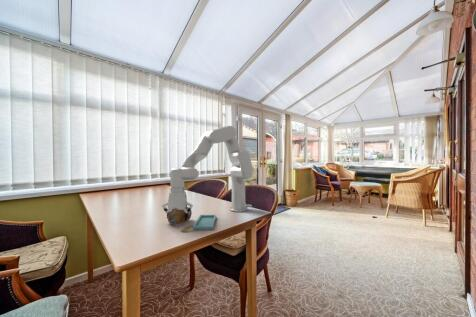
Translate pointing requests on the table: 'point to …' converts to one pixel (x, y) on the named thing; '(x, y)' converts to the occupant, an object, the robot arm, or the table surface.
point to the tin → (178, 216)
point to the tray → (205, 222)
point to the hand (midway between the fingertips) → (177, 219)
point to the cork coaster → (186, 229)
